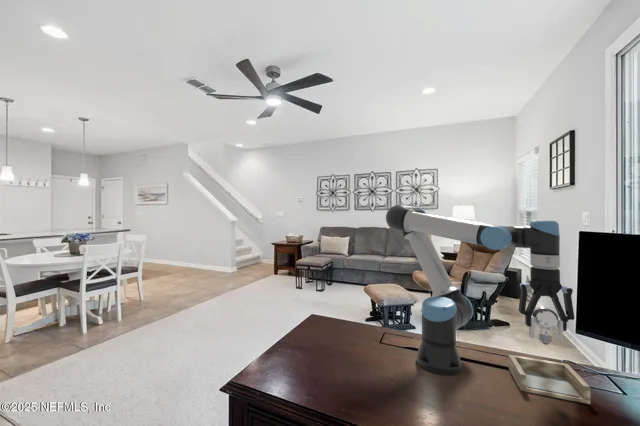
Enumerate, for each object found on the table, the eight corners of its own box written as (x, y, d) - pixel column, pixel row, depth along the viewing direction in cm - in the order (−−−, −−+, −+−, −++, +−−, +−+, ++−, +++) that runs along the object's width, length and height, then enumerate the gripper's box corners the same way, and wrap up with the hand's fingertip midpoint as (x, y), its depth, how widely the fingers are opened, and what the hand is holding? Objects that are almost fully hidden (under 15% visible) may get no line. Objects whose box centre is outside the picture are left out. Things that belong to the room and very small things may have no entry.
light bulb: (564, 349, 86) (563, 310, 86) (539, 347, 87) (538, 309, 88) (551, 340, 93) (550, 304, 93) (527, 338, 94) (526, 303, 95)
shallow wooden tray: (520, 390, 86) (520, 374, 87) (508, 368, 99) (508, 354, 100) (590, 404, 80) (590, 386, 80) (567, 379, 93) (567, 364, 93)
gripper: (512, 266, 91) (513, 337, 90) (589, 271, 83) (590, 348, 83) (506, 263, 98) (506, 329, 97) (577, 267, 90) (578, 338, 90)
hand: (545, 338), depth 90 cm, fingers closed on light bulb, 7 cm apart
